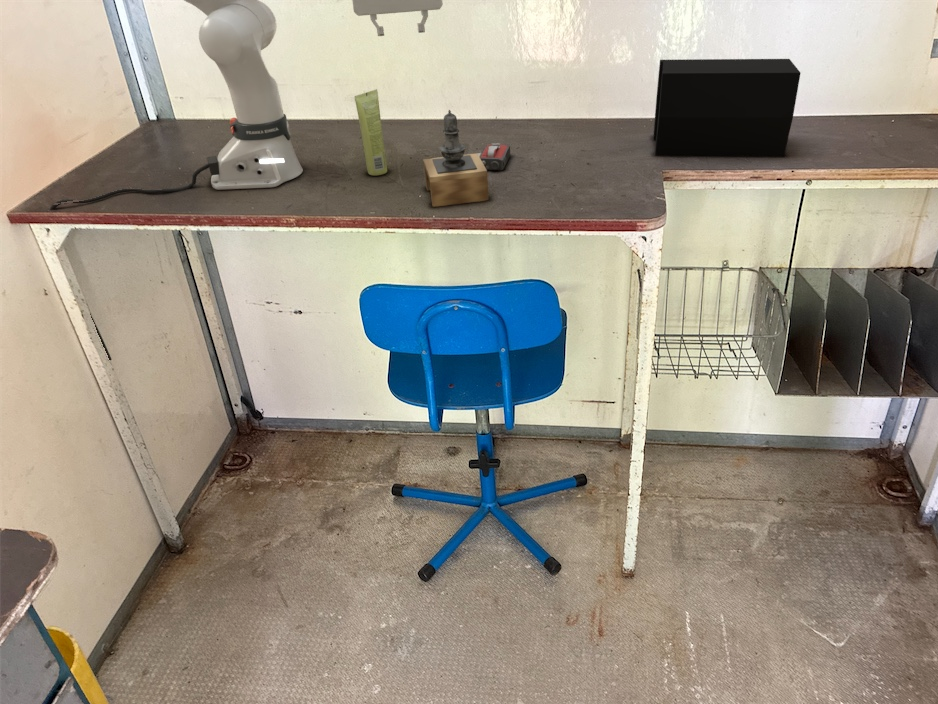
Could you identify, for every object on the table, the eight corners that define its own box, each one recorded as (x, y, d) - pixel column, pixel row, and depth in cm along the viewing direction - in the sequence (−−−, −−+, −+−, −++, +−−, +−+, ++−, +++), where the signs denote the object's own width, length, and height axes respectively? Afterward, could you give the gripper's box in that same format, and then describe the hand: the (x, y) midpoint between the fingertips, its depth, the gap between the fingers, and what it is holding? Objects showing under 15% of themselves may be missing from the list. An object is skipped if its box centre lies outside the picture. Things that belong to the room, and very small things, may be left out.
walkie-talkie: (479, 153, 189) (462, 181, 173) (478, 136, 186) (461, 163, 171) (512, 154, 188) (498, 182, 172) (511, 137, 185) (497, 164, 169)
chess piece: (463, 168, 160) (458, 114, 153) (438, 167, 161) (432, 113, 154) (469, 159, 165) (465, 106, 157) (445, 158, 166) (440, 105, 158)
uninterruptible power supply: (653, 136, 195) (659, 58, 183) (779, 137, 191) (795, 57, 179) (655, 157, 182) (662, 74, 170) (791, 158, 178) (808, 73, 166)
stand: (432, 207, 161) (429, 175, 157) (426, 187, 171) (422, 157, 166) (488, 200, 163) (486, 169, 159) (479, 181, 173) (477, 151, 168)
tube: (368, 169, 182) (356, 89, 171) (388, 167, 183) (377, 88, 171) (367, 177, 178) (354, 96, 166) (387, 175, 178) (376, 94, 166)
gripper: (437, -40, 160) (443, 27, 169) (346, -34, 157) (357, 34, 165) (441, -37, 155) (447, 32, 164) (347, -30, 152) (358, 40, 160)
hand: (401, 33), depth 165 cm, fingers open, 8 cm apart
